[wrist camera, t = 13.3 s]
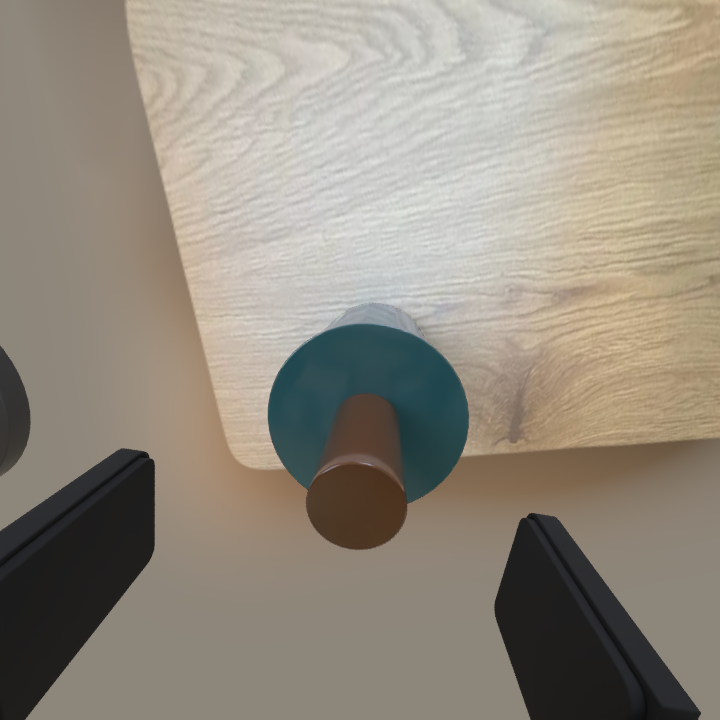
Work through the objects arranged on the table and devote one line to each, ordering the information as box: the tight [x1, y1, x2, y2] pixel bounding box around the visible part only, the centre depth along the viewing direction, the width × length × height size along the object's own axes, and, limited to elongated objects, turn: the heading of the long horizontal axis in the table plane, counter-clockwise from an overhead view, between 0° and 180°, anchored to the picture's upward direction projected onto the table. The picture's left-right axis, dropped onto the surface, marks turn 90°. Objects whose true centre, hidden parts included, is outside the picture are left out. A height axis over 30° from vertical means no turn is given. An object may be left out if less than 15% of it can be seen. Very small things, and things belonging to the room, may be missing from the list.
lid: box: [268, 322, 469, 550], centre depth 13 cm, size 9×9×7 cm
